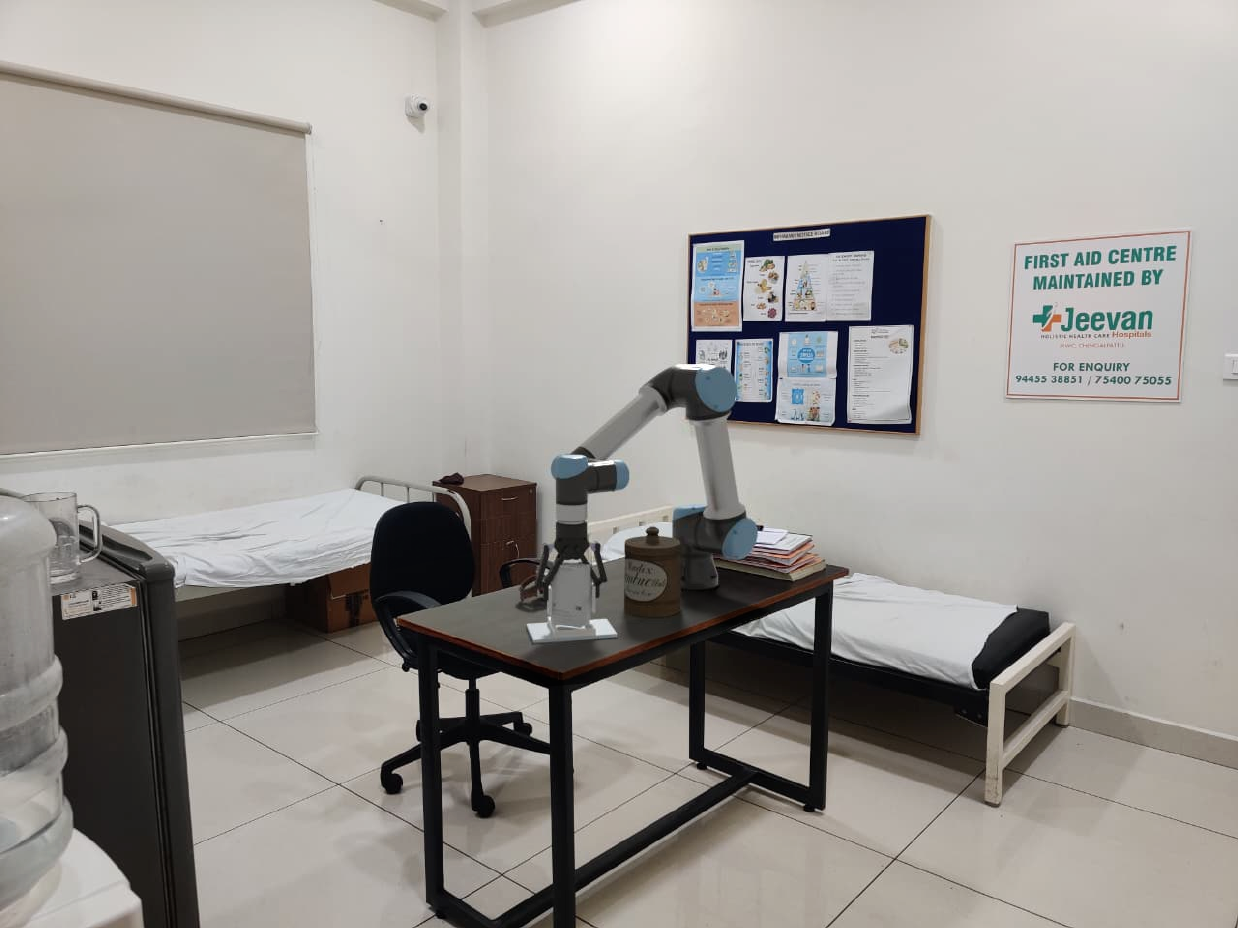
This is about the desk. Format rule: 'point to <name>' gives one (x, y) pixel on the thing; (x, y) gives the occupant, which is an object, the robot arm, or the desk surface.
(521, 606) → the desk surface
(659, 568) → the wooden container
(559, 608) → the skincare box
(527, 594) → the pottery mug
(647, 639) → the desk surface
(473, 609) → the desk surface
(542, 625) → the white box stand
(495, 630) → the desk surface
